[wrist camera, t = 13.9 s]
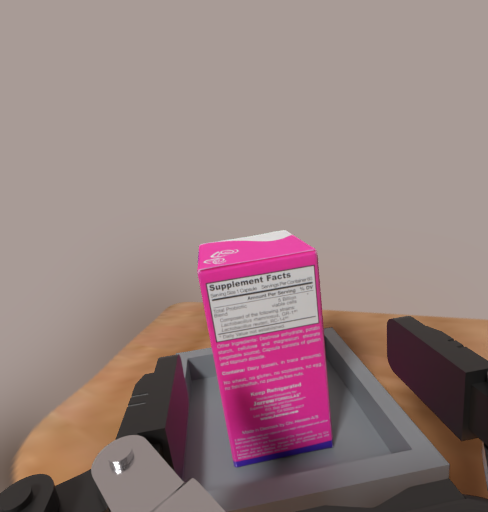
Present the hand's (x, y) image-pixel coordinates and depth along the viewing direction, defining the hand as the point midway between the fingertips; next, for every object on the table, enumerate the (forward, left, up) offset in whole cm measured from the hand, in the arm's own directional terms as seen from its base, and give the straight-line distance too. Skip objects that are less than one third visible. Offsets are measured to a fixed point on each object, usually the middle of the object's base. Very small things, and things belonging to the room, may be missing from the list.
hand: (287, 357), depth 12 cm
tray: (0, -6, -9) cm, 11 cm away
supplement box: (0, -6, -8) cm, 10 cm away
